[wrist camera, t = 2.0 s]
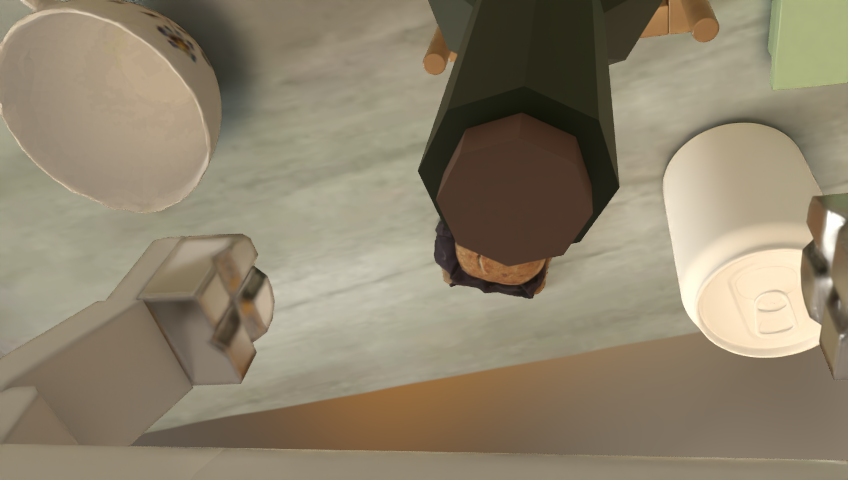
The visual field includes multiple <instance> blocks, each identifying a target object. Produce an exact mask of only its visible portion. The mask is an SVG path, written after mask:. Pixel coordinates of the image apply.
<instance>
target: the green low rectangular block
mask: <svg viewBox="0 0 848 480" xmlns="http://www.w3.org/2000/svg"><path fill="white" fill-rule="evenodd" d="M768 51H769V53H770V55H771V56H772V64H771V75H770V86H771V88H772V89H773V90H784V89H793V88H803V87H813V86H823V85H832V84H842V83H848V0H772V7H771V18H770V29H769V40H768Z"/></svg>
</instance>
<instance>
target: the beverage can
mask: <svg viewBox="0 0 848 480" xmlns="http://www.w3.org/2000/svg"><path fill="white" fill-rule="evenodd" d="M819 195H822V193H821V191H820V189H819V187H818V185H817V183H816V181H815V179H814V177H813V175H812V173H811V171H810V169H809V167H808V165H807V163H806V161H805V159H804V157H803V155H802V153H801V151H800V149H799V148H798V146H797V145H796V144H795V143H794V142H793V140H791V139H790V138H789V137H788V136H787V135H785V134H784V133H782V132H780V131H779V130H776V129H774V128H772V127H769V126H765V125H761V124H755V123H732V124H726V125H722V126H718V127H715V128H712V129H709V130H707V131H705V132H703V133H701V134H699V135H697V136H695V137H694V138H692V139H691V140H689V141H688V142H687V143H686V144H684V145H683V146H682V147H681V148H680V149H679V150H678V151H677V153H676V154H675V155H674V156H673V158H672V159H671V161H670V163H669V164H668V166H667V169H666V171H665V174H664V178H663V196H664V202H665V207H666V213H667V219H668V224H669V230H670V236H671V241H672V247H673V252H674V258H675V264H676V269H677V275H678V280H679V286H680V292H681V297H682V302H683V305H684V307H685V309H686V312H687V313H688V315H689V317H690V318H691V319H692V321H693V322H694V323H695V324H696V325H697V326H698V327H699V328H700V329H701V331H702V332H703V333H704V335H705V336H706V337H707V338H708V339H709V340H710V341H712V342H713V343H715V344H716V345H718V346H719V347H721V348H723V349H725V350H727V351H730V352H733V353H736V354H739V355H744V356H750V357H761V358H762V357H763V358H765V357H766V358H769V357H781V356H787V355H792V354H796V353H799V352H803V351H806V350H808V349H811V348H813V347H815V346H817V345H819V337H820V331H821V325H820V324H819V323H817V322H816V321H814V320H813V319H811V318H810V317H809V315H808V312H807V309H806V306H805V304H804V299H803V295H802V290H801V273H800V268H801V258H802V249H803V248H805V247H806V246H807V245H808V244H809V243H810V242H811V241H812V240H813V237H812V234H811V232H810V230H809V228H808V225H807V223H806V221H807V214H808V208H809V204H810V202H811V199H812V197H813V196H819Z"/></svg>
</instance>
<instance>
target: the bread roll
mask: <svg viewBox="0 0 848 480" xmlns="http://www.w3.org/2000/svg"><path fill="white" fill-rule="evenodd" d="M435 231H436V232H437V236H436V240H435V252H434V257H435V261H436V263H437V264H438V265H440V266H441V267H442V269H443V277H444V281H445V282H446V283H447V284H450V287H453V286H455V285H462V286H470V287H476V288H479V289H480V290H482V291H483V292H484V293H492V292H499V293H503V294H507V295H513V296H517V297H518V296H519V297H521V296H522V297H524V298H528V299H532V298H533V296H534V294H538V293H540V292H541V291H542V289H543V288H544V285H545V281H544V280H545V278H546V275H547V273H548V272H546V271H547V269H548V268H549V267H548V265H549V262H550V261H551V258H548V259H543V260H538V261H534V262H529V263H524V264H520V265H515V266H510V267H507V266H505V265H503V264H500V263H498V262H496V261H493V260H491V259H489V258H486V257H484V256H482V255H479V254H477V253H475V252H472V251H470V250H468V249H465V248H463V247H461V246H458V245H457V243H456V241H455V239H454V237H453V235H452V233H451V231H448V230H446V229H445V227H444V224H443V222H442V220H441V218H440V222H439V223H438V225H437V227H436V230H435Z"/></svg>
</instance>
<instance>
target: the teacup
mask: <svg viewBox="0 0 848 480" xmlns="http://www.w3.org/2000/svg"><path fill="white" fill-rule="evenodd" d="M21 2H22V3H24V4H25V5H27V6H28V7H30V8H31V9H32V10H33V12H34V13H32V14H30V15H28V16H26V17H24V18H22V19H21V20H19V21H18V22H16V23H15V24H14V25H13V26H12V27H11V28H10V30H9V31H8V33H7V35H6V37H5V38H4V40H3V41H2V42H1V44H0V113H1V116H2V118H3V119H4V121H5V123H6V125H7V127H8V129H9V130H10V132H11V133H12V135H13V136H14V137H15V139H16V140H17V142H18V143H19V145H20V147H21V148H22V149H23V150H24V152H25V153H26V154H27V155H28V156H29V157H30V159H31V160H32V161H33V162H34V163H35V164H36V165H37V166H39V167H40V168H41V169H42V170H43V171H44V172H45V173H47V174H48V175H49V176H50V177H51V178H52V179H54V180H56V181H58V182H59V183H60V184H62V185H64V186H65V187H66V188H68V189H69V190H70V191H72V192H74V193H76V194H80V195H84V196H86V197H87V198H89V199H92V200H94V201H97V202H99V203H101V204H103V205H105V206H106V207H108V208H110V209H115V210H123V209H127V210H129V211H131V212H143V213H150V212H154V211H156V212H158V211H161V210H164V209H166V208H168V207H169V206H171V205H174V204H176V203H177V202H179V201H181V200H183V199H184V198H186V197H187V196H188V195H189V194H190V193H191V192H192V191H193V190H194V189H195V188H196V187H197V186H198V185H199V183H200V181H201V179H202V177H203V175H204V173H205V171H206V169H207V167H208V165H209V163H210V160H211V158H212V155H213V153H214V150H215V147H216V144H217V141H218V137H219V132H220V125H221V97H220V91H219V86H218V82H217V79H216V76H215V73H214V71H213V68H212V66H211V64H210V62H209V60H208V58H207V57H206V55H205V54H204V52H203V50H202V49H201V48H200V46H199V45H198V44H197V42H196V41H195V40H194V39H193V38H192V37H191V36H190V35H189V34H188V33H187V32H186V31H185V30H184V29H182V28H181V27H180V26H179V25H177V24H176V23H175V22H173V21H172V20H170V19H169V18H167V17H165V16H163V15H161V14H160V13H158V12H156V11H154V10H151V9H149V8H146V7H144V6H141V5H138V4H135V3H131V2H127V1H122V0H72V1H67V2H62V1H58V0H21Z"/></svg>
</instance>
